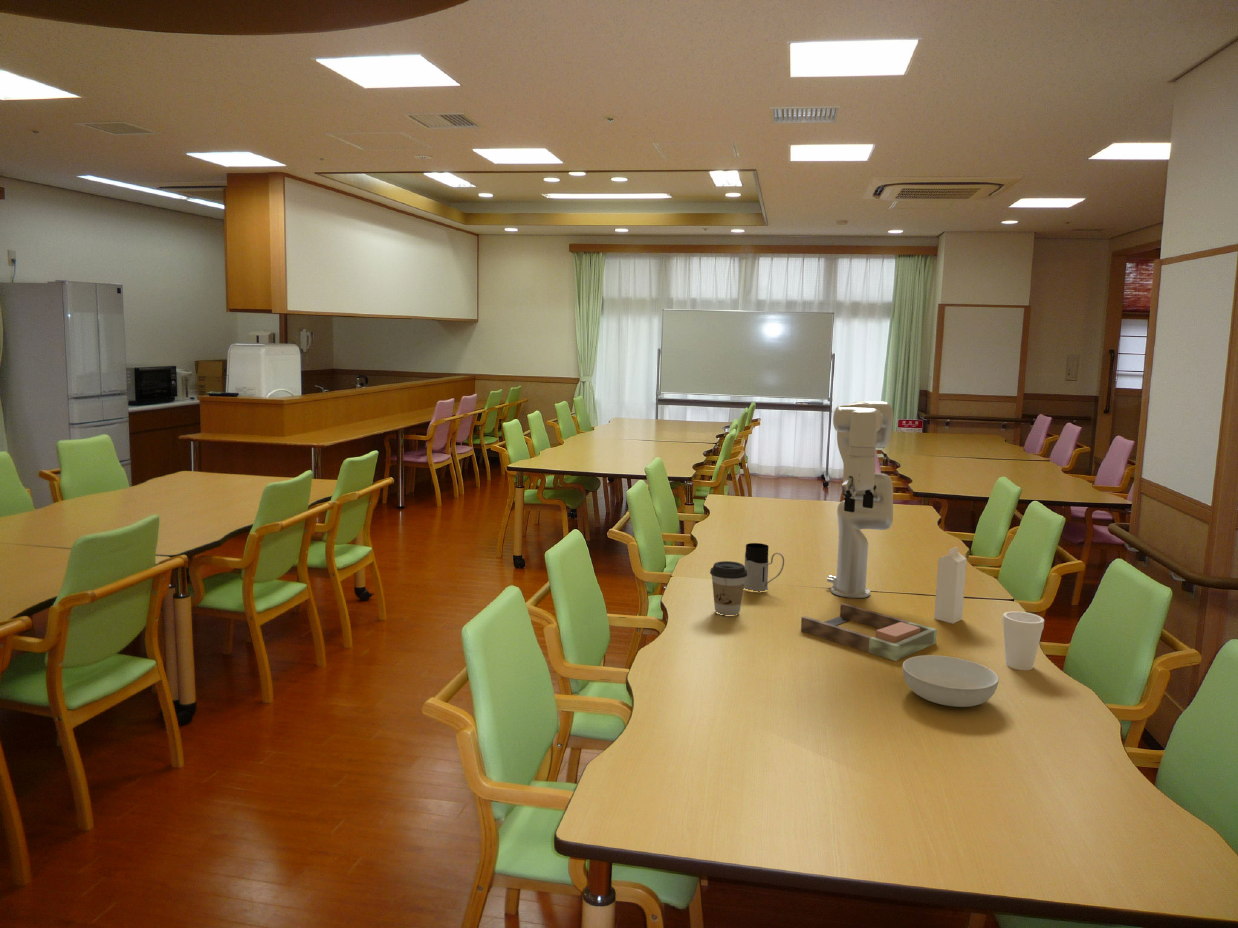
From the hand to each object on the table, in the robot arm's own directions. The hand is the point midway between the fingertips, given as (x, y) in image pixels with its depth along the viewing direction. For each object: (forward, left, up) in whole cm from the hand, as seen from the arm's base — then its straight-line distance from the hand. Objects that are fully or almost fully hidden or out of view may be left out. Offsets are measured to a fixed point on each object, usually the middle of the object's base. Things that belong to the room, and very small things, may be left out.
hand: (858, 509), depth 245 cm
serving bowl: (+47, -33, -34) cm, 67 cm away
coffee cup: (-27, -26, -34) cm, 50 cm away
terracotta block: (+21, -11, -34) cm, 41 cm away
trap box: (+12, -11, -33) cm, 37 cm away
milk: (+19, +22, -34) cm, 44 cm away
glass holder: (-35, +1, -34) cm, 48 cm away
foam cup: (+49, +1, -34) cm, 59 cm away
